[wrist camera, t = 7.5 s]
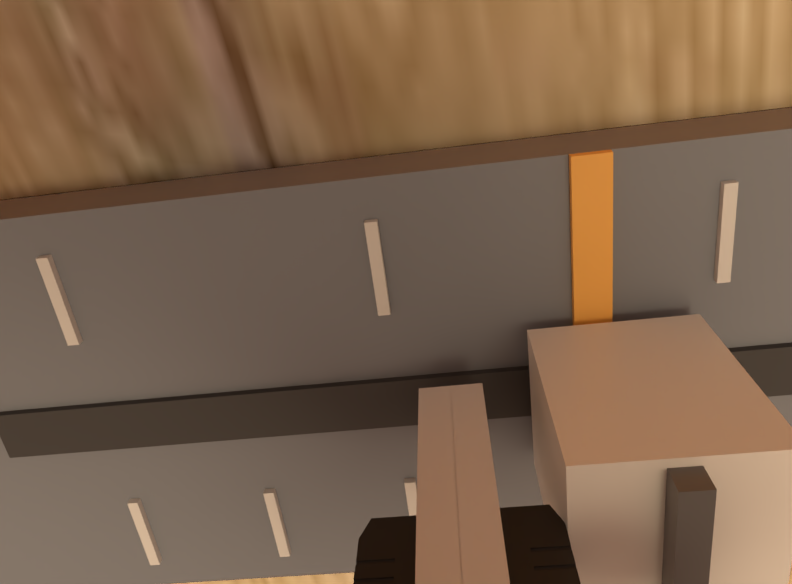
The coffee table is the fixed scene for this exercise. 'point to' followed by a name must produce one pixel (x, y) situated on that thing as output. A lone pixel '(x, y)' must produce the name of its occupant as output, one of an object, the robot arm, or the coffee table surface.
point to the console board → (346, 332)
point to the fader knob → (660, 454)
